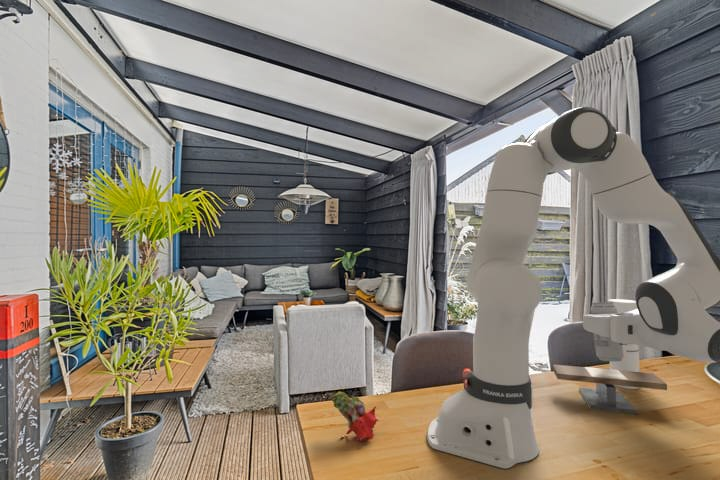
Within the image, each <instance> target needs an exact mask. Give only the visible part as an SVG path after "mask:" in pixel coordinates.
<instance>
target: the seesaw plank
mask: <svg viewBox="0 0 720 480" xmlns="http://www.w3.org/2000/svg"><path fill="white" fill-rule="evenodd" d="M552 372H553V373H554V374H555V377H556V379H557V380H563V381H571V382H572V381H573V382H582V383H590V384H591V383H592V384H596V383H601V384H611V385H614V386H615V385H621V386H630V387H639V389H640V388H643V389H651V390H661V391H662V390H664V391H668V384H667V383H666V382H665V381H664V380H662V379H661V378H660V377H659V376H658V375H656V374H655V373H653V372H643V371H641V372H640V371H639V372H632V371H621V370H614V369H610V368H603V367H601V368H599V367H588V366H574V365H565V364H564V365H562V364H552Z"/></svg>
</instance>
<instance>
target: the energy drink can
mask: <svg viewBox="0 0 720 480" xmlns="http://www.w3.org/2000/svg"><path fill="white" fill-rule="evenodd" d="M589 309H590V314H616V313H617V308H616V307H615V306H614V305H613V302H609V301H607V302H606V301H602V302H599V301H598V302H591V307H590V308H589ZM592 334H593V340H594V347H595V354H596V357H597V358H598V360H600V361H604V362H610V361H611V362H618V361H622V358H623V357H624V355H623V348H622V343H616V342H613V341H612V340H611V338H608V337H603V336H600V335H597V334H594V333H592Z"/></svg>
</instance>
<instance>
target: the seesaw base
mask: <svg viewBox="0 0 720 480" xmlns="http://www.w3.org/2000/svg"><path fill="white" fill-rule="evenodd" d="M616 387H617V386H615V385H611V384H601V383H595V388H589V387H588V388H587V387H578V388H579V389H578V392H579V393H580V395H581V396H582V397H583V399H584V401H585V403H586V404H587V406H588V407H589V409H590V410H591V409H592V410H599V411H608V412H616V413H624V414H631V415H632V414H633V415H638V411H637V410H638V409H636V408H635V406H634V405H633V404H632V403H631V402H630V401H629V400H628V399H627V397H626V396H625V395H623V393H622V392H621V391H617V388H616Z"/></svg>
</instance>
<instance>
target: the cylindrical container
mask: <svg viewBox="0 0 720 480" xmlns="http://www.w3.org/2000/svg"><path fill="white" fill-rule="evenodd" d="M608 302H613V305H614V306H615V307H616V308H617V313H625V312H629V311H632V310H635V309H638V308H637V305H636V300H631V299H621V298H612V299H608ZM622 348H623V355H624V357H623V358H622V361H618V362H611V361H609V369H614V370H621V371H632V372H640V349H639V348H640V345H636V344H624V343H622ZM614 386H615V387H619V388H621V389H622V388H623V389H629V390H635V389H637V390H638V389H640V387H630V386H621V385H614Z"/></svg>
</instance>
